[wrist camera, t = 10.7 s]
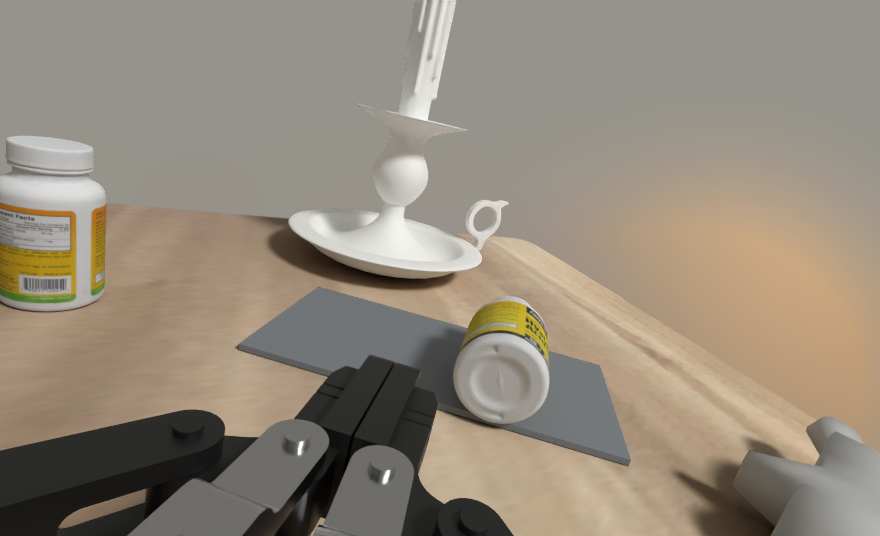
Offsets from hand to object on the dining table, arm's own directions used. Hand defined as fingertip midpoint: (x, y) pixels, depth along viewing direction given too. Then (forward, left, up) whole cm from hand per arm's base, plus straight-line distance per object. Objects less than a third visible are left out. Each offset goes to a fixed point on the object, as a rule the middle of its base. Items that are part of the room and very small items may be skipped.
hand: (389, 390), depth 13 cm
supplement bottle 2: (+12, -4, -6) cm, 14 cm away
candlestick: (+39, +8, -9) cm, 41 cm away
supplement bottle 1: (+13, +25, -9) cm, 29 cm away
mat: (+19, 0, -9) cm, 21 cm away
